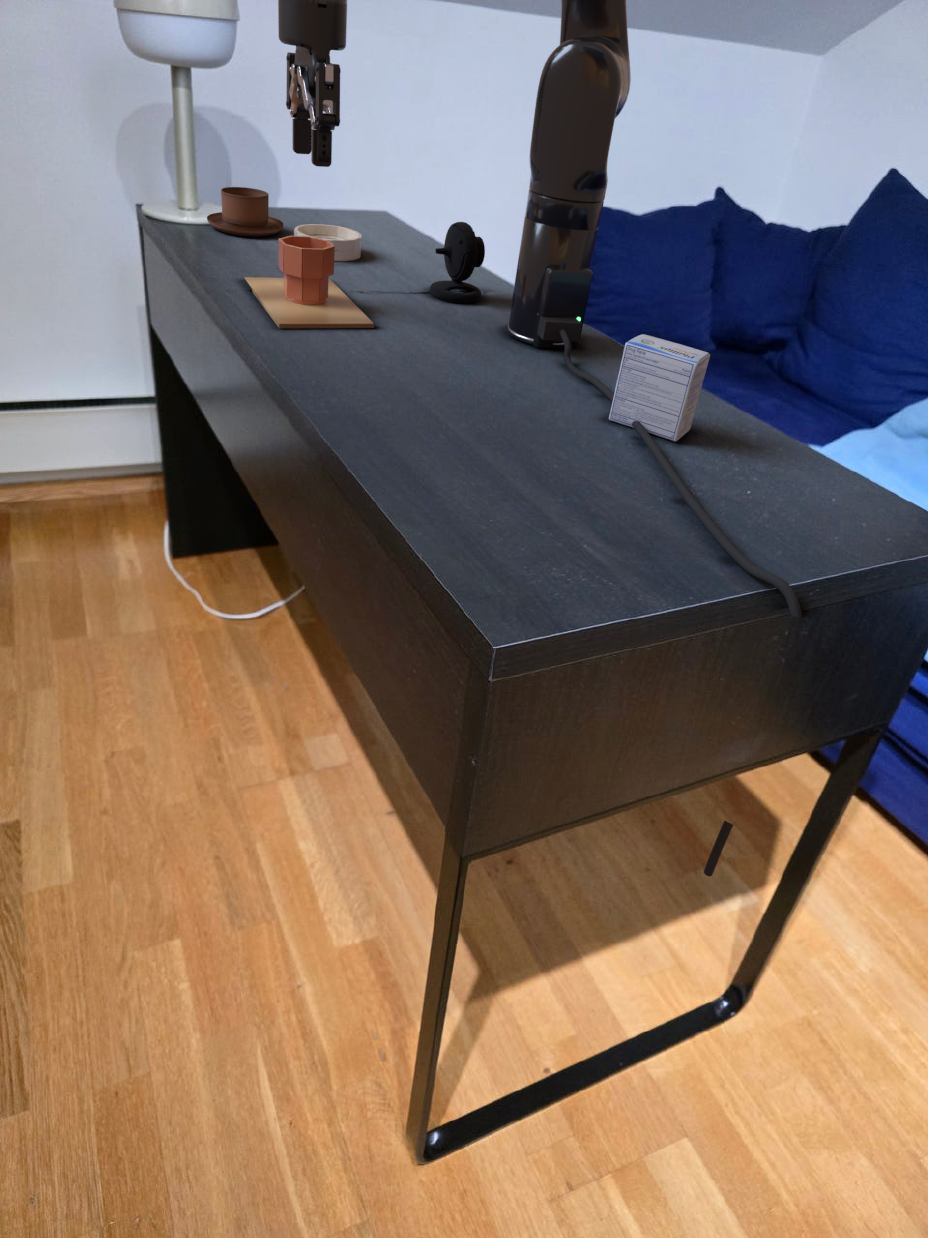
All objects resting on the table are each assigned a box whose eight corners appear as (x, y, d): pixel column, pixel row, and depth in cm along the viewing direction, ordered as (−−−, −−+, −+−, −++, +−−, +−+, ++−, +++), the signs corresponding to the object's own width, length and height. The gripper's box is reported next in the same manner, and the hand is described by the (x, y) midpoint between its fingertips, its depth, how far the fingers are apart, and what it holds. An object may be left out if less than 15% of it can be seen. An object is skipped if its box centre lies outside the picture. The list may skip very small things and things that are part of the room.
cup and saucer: (198, 223, 145) (197, 182, 141) (270, 224, 150) (269, 185, 147) (219, 241, 136) (217, 198, 133) (293, 242, 142) (293, 201, 138)
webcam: (489, 304, 126) (499, 229, 120) (442, 304, 123) (450, 228, 117) (467, 288, 132) (475, 216, 126) (421, 288, 129) (427, 214, 123)
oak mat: (373, 328, 111) (374, 323, 110) (279, 328, 106) (279, 323, 106) (329, 282, 125) (329, 278, 125) (244, 281, 121) (244, 276, 120)
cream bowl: (368, 265, 136) (370, 241, 134) (304, 263, 132) (304, 238, 130) (349, 248, 143) (350, 225, 141) (287, 246, 139) (287, 222, 137)
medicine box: (690, 432, 94) (712, 352, 90) (675, 444, 91) (698, 362, 86) (623, 410, 97) (641, 332, 93) (606, 420, 94) (625, 340, 89)
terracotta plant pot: (337, 306, 114) (339, 249, 110) (286, 306, 112) (287, 248, 108) (323, 291, 119) (325, 236, 115) (274, 291, 116) (274, 234, 112)
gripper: (263, -11, 101) (266, 148, 110) (296, -7, 90) (296, 168, 99) (327, -3, 104) (324, 151, 113) (365, 2, 93) (359, 172, 102)
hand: (311, 159), depth 106 cm, fingers open, 8 cm apart
